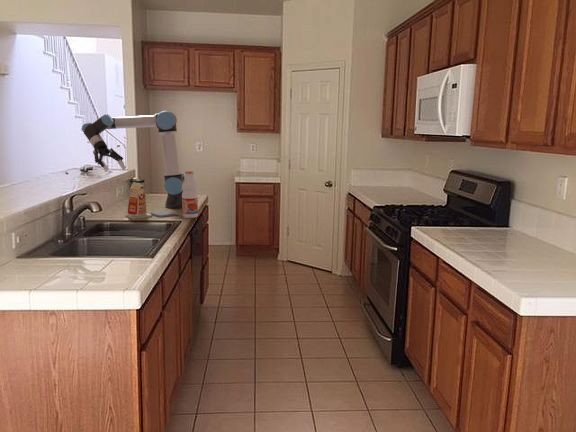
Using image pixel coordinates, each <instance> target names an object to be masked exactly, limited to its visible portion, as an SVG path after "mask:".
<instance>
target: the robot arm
mask: <svg viewBox="0 0 576 432" xmlns="http://www.w3.org/2000/svg"><path fill="white" fill-rule="evenodd" d="M176 116H177V115H175V114H174V113H173V112H171V111H170V110H163V111H160V112H159V113H155V114H153V115H134V116H133V115H132V116H129V115H128V116H113V117H111V116H110V114H108V113H105V114H103V115H102V116H100V117H99V118H98V119H96V120H95V121H93V122H86V123H83V124H82V126H81V130H82V133H83V135H84V136H85V137H86V138H87V140H88V142H89V143H90V144H91V146H92V147H93V151H92V153H93V156H94V161H95V164H98V165H100V166H101V168H102V169H103V170H104V172H106V173H107V172H108V171H109V167H108V165H107V164H106V162H105V161H104V160H103V157H108V158H111V159H113V160H115V161H116V162H117V164H118V165H119V167H120V168H121V169H122V170H123V171H125V170H126V168H127V166H126V165H125V163H124V161H123V160H124V157H123V156H121V155H120V154H119V153H118V152H117V151H115V150H114V149H113V148H112V147H111V148H110V149H109V148H108V144H107V143H106V141H105V140H104V139H103V138H102V136H101V135H100V134H101V133H104V131H105V130H115V129H116V130H117V129H136V128H137V129H138V128H139V129H140V128H156V129H157V131H158V134H159V135H160V136H161V144H162V151H163V159H164V167H165V173H164V174H163V178H164V179H163V180H164V185H163V186H164V190H165V191H166V192H167V197H166V200H165V203H164V204H165V205H164V207H165V208H169V209H182V192H183V189H182V184H183V182H184V180H185V177H186V176H185V174H184V173H182V172H181V171H180V166H179V158H178V149H177V142H176V133H177V132H178V130H177V122H178V119H177V117H176Z"/></svg>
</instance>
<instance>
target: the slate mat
mask: <svg viewBox="0 0 576 432" xmlns="http://www.w3.org/2000/svg"><path fill="white" fill-rule="evenodd" d="M150 215H152V216H155V217H157V218H165V217H174V216H178V213H177V212H173V211H171V210H164V211H154V212H150Z"/></svg>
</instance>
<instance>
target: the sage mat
mask: <svg viewBox="0 0 576 432" xmlns="http://www.w3.org/2000/svg"><path fill="white" fill-rule="evenodd" d="M124 217H125V218H129V219H132V220H137V218H138V219H145V218H153V215H151V213H150V214H149V213H147V214H145V215H141V216H129V215H127V213H124Z"/></svg>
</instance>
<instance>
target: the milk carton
mask: <svg viewBox="0 0 576 432" xmlns="http://www.w3.org/2000/svg"><path fill="white" fill-rule="evenodd" d="M146 201H147V200H146V193H145V188H144V184H140V183H137V182H134V181H133V182H132V185H131V186H130V189H129V193H128V201H127V211H126V214H127V215H129V216H141V215H145V214H148V213H147V212H148V211H147V202H146Z"/></svg>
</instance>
